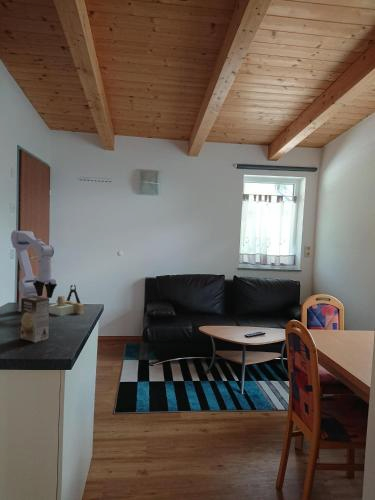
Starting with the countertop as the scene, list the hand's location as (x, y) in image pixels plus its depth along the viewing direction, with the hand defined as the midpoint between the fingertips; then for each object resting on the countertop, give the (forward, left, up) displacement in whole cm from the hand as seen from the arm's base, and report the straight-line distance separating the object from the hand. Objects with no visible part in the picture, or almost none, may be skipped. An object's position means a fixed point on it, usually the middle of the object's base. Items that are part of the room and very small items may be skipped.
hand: (44, 297), depth 159 cm
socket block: (+1, +9, -10) cm, 13 cm away
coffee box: (+28, -22, -10) cm, 37 cm away
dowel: (+1, +9, -9) cm, 13 cm away
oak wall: (+1, +15, -10) cm, 17 cm away
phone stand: (-8, +24, -10) cm, 27 cm away
